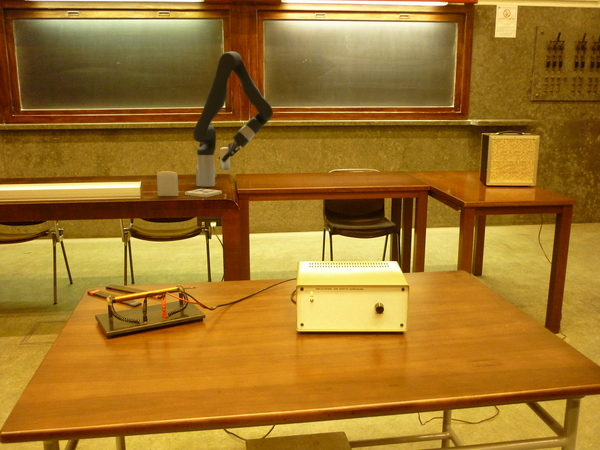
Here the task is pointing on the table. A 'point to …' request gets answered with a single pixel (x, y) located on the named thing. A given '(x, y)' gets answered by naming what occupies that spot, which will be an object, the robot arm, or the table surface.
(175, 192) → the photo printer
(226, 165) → the canister
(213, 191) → the board
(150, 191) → the table surface
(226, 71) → the robot arm
